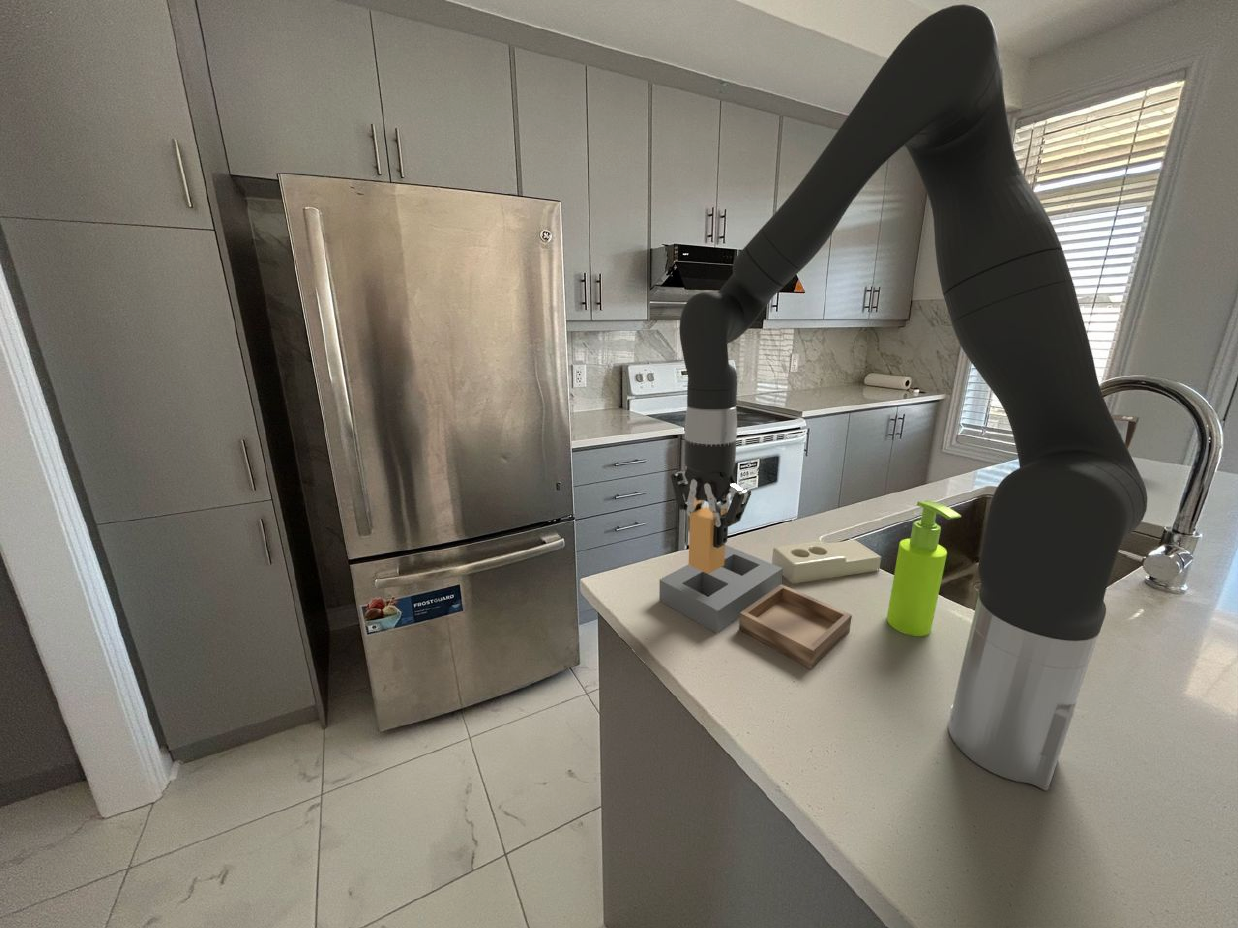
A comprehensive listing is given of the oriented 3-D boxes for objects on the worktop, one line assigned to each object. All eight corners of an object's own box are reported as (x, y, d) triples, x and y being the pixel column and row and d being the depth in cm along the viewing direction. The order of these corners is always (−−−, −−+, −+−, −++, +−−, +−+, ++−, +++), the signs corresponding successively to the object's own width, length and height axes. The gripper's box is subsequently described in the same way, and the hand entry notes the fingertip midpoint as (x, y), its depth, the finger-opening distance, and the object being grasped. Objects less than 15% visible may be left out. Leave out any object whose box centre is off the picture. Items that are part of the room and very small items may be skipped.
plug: (724, 565, 77) (726, 513, 74) (708, 574, 74) (710, 520, 71) (704, 556, 79) (705, 506, 77) (688, 564, 77) (689, 513, 74)
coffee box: (1118, 478, 132) (1136, 421, 127) (1087, 473, 136) (1103, 418, 132) (1122, 471, 137) (1140, 416, 133) (1092, 466, 142) (1107, 413, 137)
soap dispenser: (914, 643, 69) (939, 516, 63) (877, 616, 75) (897, 498, 69) (946, 636, 70) (974, 511, 64) (908, 609, 77) (929, 493, 71)
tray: (849, 631, 72) (851, 614, 71) (811, 669, 65) (813, 650, 64) (779, 599, 80) (781, 584, 79) (738, 629, 73) (739, 612, 72)
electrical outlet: (882, 552, 88) (793, 564, 84) (878, 571, 89) (791, 585, 85) (855, 535, 94) (772, 546, 90) (852, 554, 95) (770, 565, 92)
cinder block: (780, 588, 83) (782, 568, 82) (716, 633, 72) (717, 610, 71) (724, 563, 92) (725, 544, 91) (659, 600, 81) (659, 579, 80)
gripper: (767, 439, 68) (759, 548, 73) (689, 424, 78) (688, 521, 83) (735, 449, 63) (730, 565, 68) (657, 432, 73) (658, 534, 78)
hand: (707, 540), depth 76 cm, fingers closed on plug, 4 cm apart
